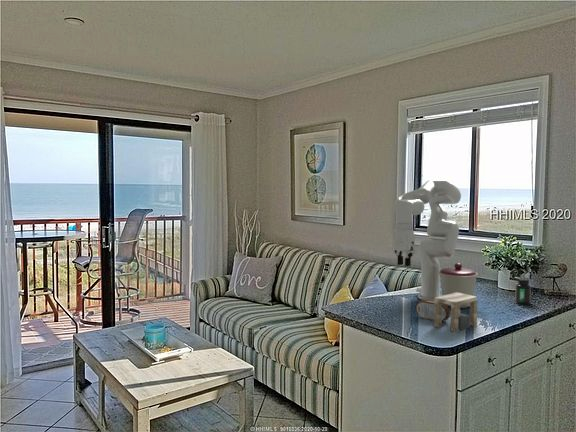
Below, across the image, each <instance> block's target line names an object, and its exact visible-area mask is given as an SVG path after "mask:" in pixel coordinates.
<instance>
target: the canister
mask: <svg viewBox="0 0 576 432" xmlns="http://www.w3.org/2000/svg"><path fill="white" fill-rule="evenodd" d="M439 274H440V289H441V295H442V296H443V295H447V294H451V293H455V292H458V293H462V294H467V295H472V296H475V291H476V283H477V277H478V275H479V273H478V272H476V271H475V270H474V269H470V268H467V267H466V268H465V267H463V265H462V263H460V262H455V264H454V265H453V267H444V268H442V269H440V271H439ZM446 305H447V306H448V307H450V308H451V305H449V304H446ZM465 308H470V302H469V303H465V304H461V305H460V309H465Z"/></svg>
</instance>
